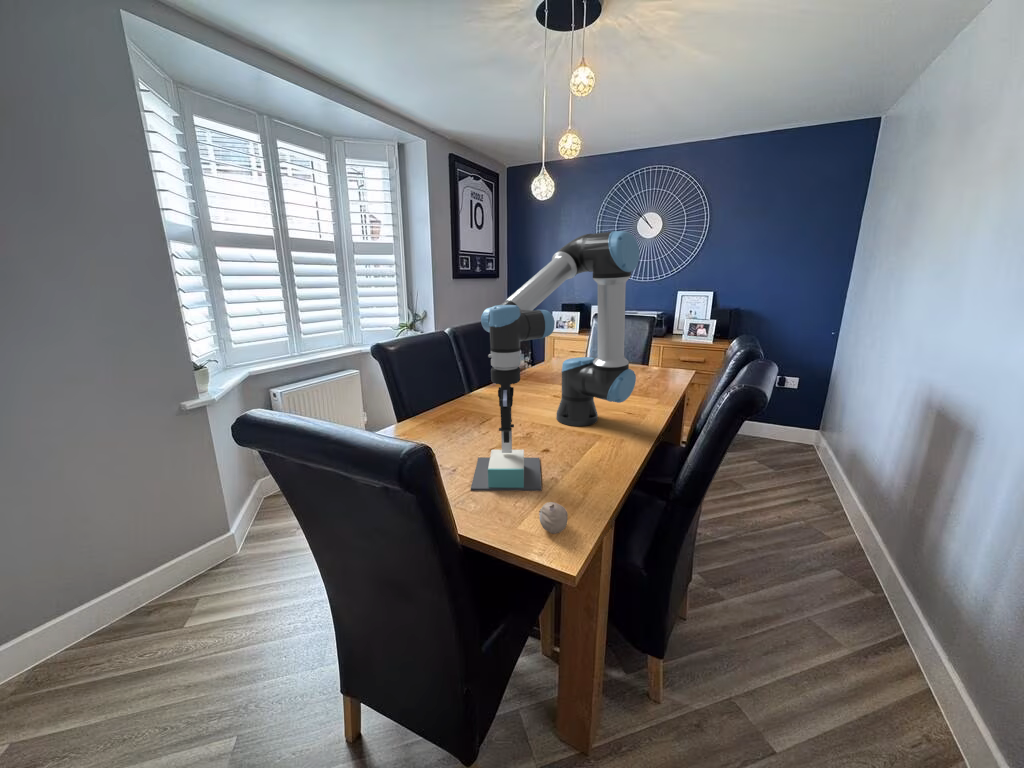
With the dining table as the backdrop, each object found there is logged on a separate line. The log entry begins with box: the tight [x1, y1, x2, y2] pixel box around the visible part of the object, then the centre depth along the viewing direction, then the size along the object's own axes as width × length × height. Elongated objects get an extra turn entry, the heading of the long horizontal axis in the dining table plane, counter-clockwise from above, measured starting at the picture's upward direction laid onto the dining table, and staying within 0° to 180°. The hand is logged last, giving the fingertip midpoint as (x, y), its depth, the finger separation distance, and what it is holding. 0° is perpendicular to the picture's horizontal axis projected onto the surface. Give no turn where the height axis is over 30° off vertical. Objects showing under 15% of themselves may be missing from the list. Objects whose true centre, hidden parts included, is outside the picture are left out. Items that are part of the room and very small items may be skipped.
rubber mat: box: [470, 456, 543, 492], centre depth 113 cm, size 18×18×1 cm
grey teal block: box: [488, 449, 525, 488], centre depth 110 cm, size 9×5×12 cm
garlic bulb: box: [538, 501, 569, 535], centre depth 88 cm, size 7×6×8 cm
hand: (506, 451), depth 112 cm, fingers closed
